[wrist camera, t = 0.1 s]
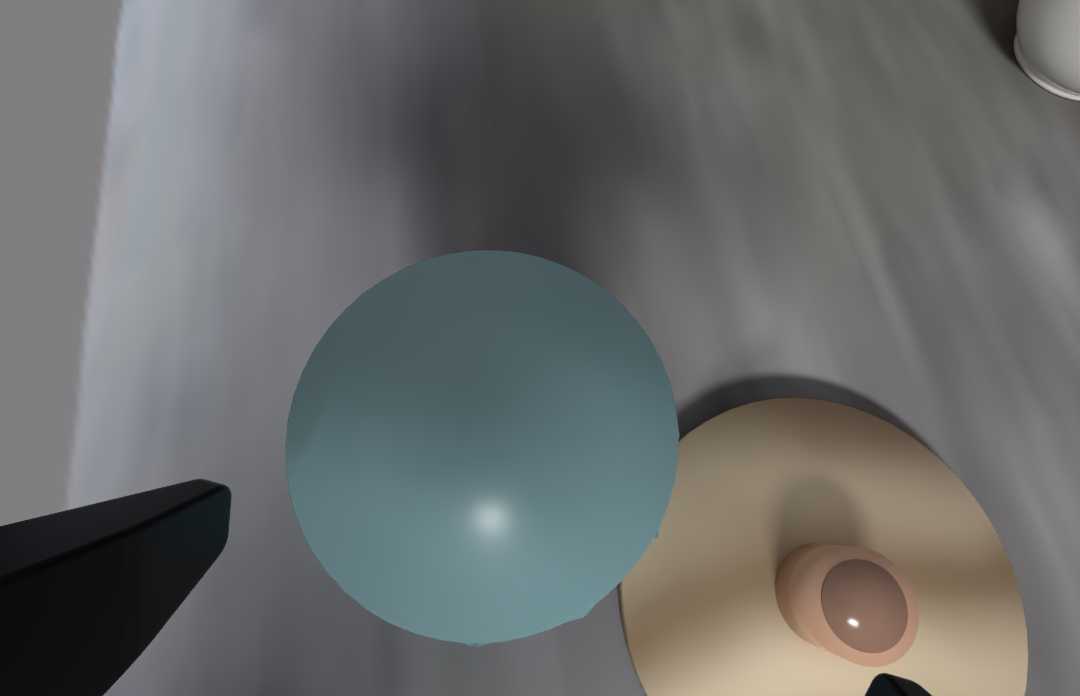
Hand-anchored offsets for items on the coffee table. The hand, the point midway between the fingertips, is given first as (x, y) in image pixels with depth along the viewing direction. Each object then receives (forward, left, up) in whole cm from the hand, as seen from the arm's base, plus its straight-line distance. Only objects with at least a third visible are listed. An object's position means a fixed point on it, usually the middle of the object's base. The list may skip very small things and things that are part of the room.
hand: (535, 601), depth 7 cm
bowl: (-4, -10, -14) cm, 17 cm away
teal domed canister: (+3, 0, -15) cm, 15 cm away
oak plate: (-4, -10, -15) cm, 18 cm away
